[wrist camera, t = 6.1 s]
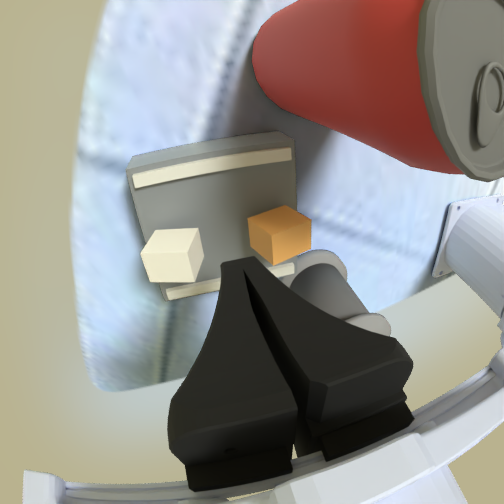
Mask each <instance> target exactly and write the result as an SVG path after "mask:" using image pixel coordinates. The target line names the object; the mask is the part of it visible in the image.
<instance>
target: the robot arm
mask: <svg viewBox="0 0 504 504" xmlns="http://www.w3.org/2000/svg"><path fill="white" fill-rule="evenodd" d="M503 201H504V195H502V194H497V195H492V196H486V197H480V198H474V199H469V200H463V201H457V202H453V203H451V205H450V206H449V210H448V215H447V219H446V224H445V228H444V232H443V236H442V240H441V244H440V248H439V251H438V255H437V258H436V262H435V265H434V269H433V272H432V276H433V277H434V278H438V277H440V276H443V275H446V274H448V273H451V272H455V273H456V274H457V275H458V276H459V277H460V278H461V279H462V280H463V281H465V282H466V283H467V284H468V285H469V286H470V287H471V288H472V289H473V290H474V291H475V292H476V293H477V294H478V296H479V297H480V298H481V299H483V301H484V302H485V303H486V304H487V305H488V306H489V307H490V308H491V309H492V310H493V311H494V312H495V313H496V314H497V316H499V318H500V319H501V320H500V322H499V323H498V325H497V326H498V327H499V328H500V329H501V330H502V334H501V345H502V348H501V349H500V350H499V351H498V352H497V353H496V354H495V356H494V357H493V358H492V360H491V361H490V363H489V365H488V366H486V367H485V368H483V369H482V370H480V371H479V372H478V373H476V374H475V375H473V376H472V377H470V378H469V379H467V380H466V381H464V382H463V383H461V384H460V385H458V386H456V387H455V388H453V389H452V390H450V391H448V392H447V393H445V394H443V395H442V396H440V397H438V398H436V399H435V400H433V401H431V402H429V403H428V404H426V405H424V406H422V407H420V408H418V409H417V410H415V411H413V412H411V411H410V410H409V408H408V406H407V405H406V403H405V401H406V399H407V396H406V395H405V393H404V391H403V387H404V385H405V383H406V382H407V380H408V378H409V376H410V374H411V372H412V369H413V361H412V359H411V358H410V356H409V355H408V353H407V352H406V350H405V349H404V348H403V346H402V345H401V344H400V343H399V342H398V341H397V340H396V338H393V337H389V336H386V335H382V334H379V333H375V332H372V331H368V330H366V329H363V328H360V327H357V326H355V325H352V324H350V323H347V322H345V321H343V320H341V319H339V318H337V317H334V316H332V315H330V314H328V313H326V312H325V311H323V310H321V309H319V308H318V307H316V306H314V305H313V304H311V303H310V302H308V301H306V300H305V299H304V298H302V297H301V296H299V295H298V294H297V293H295V292H294V291H293V290H291V289H290V288H289V287H288V286H286V285H285V284H284V283H283V282H282V281H280V280H279V279H278V278H277V277H276V276H275V275H274V274H272V273H271V272H270V271H269V270H268V269H267V268H266V267H265V266H264V265H263V264H262V263H261V262H260V261H259V260H258V259H257V258H256V257H255V256H250V257H245V258H241V259H236V260H231V261H226V262H222V264H221V265H220V267H221V282H220V290H219V296H218V301H217V305H216V309H215V313H214V317H213V320H212V323H211V326H210V329H209V332H208V334H207V337H206V339H205V342H204V344H203V346H202V349H201V351H200V353H199V355H198V357H197V359H196V361H195V362H194V364H193V366H192V368H191V370H190V372H189V373H188V375H187V377H186V378H185V380H184V381H183V383H182V384H181V386H180V387H179V389H178V390H177V392H176V393H175V395H174V396H173V398H172V399H171V403H170V408H169V415H168V428H167V430H168V441H169V449H170V450H171V452H172V453H173V454H174V455H175V456H176V457H177V458H178V459H179V460H180V461H181V462H182V463H183V464H184V465H185V469H186V475H187V480H186V481H178V482H177V481H176V482H165V483H148V484H95V483H79V482H67V481H64V480H63V479H61V478H60V477H58V476H56V475H53V474H50V473H45V472H38V471H32V470H24V478H23V504H468V503H467V501H466V499H465V497H464V495H463V493H462V492H461V489H460V488H459V486H458V484H457V482H456V480H455V478H454V476H453V475H452V472H451V471H450V469H449V467H448V464H449V463H451V462H452V461H454V460H455V459H457V458H458V457H460V456H461V455H462V454H464V453H465V452H466V451H468V450H469V449H470V448H472V447H473V446H474V445H475V444H477V443H478V442H479V441H481V440H482V439H483V438H485V437H486V436H487V435H488V434H489V433H491V432H492V431H493V430H494V429H495V428H496V427H498V426H499V425H500V424H501V423H502V422H503V421H504V205H503ZM293 444H294V447H295V450H296V454H297V457H298V458H296V459H292V450H293ZM273 488H274V489H273ZM268 489H273V490H270V491H267V492H263V493H260V494H256V495H252V496H249V497H245V498H241V499H237V500H233V501H229V500H227V499H226V498H229V497H235V496H241V495H246V494H251V493H255V492H260V491H264V490H268Z"/></svg>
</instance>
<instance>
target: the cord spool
mask: <svg viewBox="0 0 504 504" xmlns="http://www.w3.org/2000/svg"><path fill="white" fill-rule="evenodd" d="M279 280H280V281H282V282H283V283H284V284H285V285H286V286H288V287H289V288H290V289H291V290H293V291H294V292H295V293H297V294H298V295H299V296H301V297H302V298H304V299H305V300H306V301H308V302H310V303H311V304H313V305H314V306H316V307H318V308H319V309H321V310H323V311H325V312H326V313H328V314H330V315H332V316H334V317H337V318H339V319H341V320H343V321H345V322H347V323H350V324H352V325H355V326H357V327H360V328H363V329H366V330H368V331H372V332H375V333H379V334H382V335H386V336H389V337H390V334H391V326H390V324H389V322H388V321H387V320H386V318H385V317H384V316H382V315H380V314H377V313H369V312H368V310H367V309H366V308H365V306H364V305H363V303H362V302H361V301H360V299H359V298H358V297H357V295H356V294H355V292H354V291H353V290H352V288H351V287H350V286H349V284H348V283H347V282H346V281H347V270H346V267H345V265H344V264H343V262H342V261H341V260H340V259H339V257H338V256H337V255H336V254H334V253H333V252H331V251H328V250H312V251H308V252H305V253H303V254H301V255H299V256H297V274H293V275H288V276H284V277H279Z"/></svg>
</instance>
